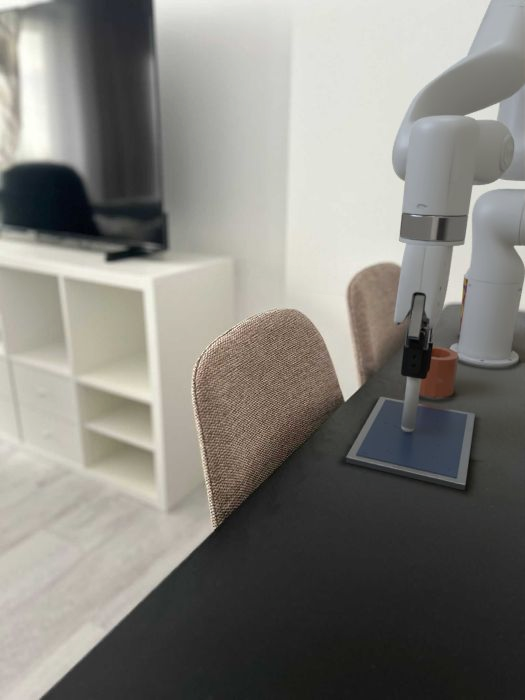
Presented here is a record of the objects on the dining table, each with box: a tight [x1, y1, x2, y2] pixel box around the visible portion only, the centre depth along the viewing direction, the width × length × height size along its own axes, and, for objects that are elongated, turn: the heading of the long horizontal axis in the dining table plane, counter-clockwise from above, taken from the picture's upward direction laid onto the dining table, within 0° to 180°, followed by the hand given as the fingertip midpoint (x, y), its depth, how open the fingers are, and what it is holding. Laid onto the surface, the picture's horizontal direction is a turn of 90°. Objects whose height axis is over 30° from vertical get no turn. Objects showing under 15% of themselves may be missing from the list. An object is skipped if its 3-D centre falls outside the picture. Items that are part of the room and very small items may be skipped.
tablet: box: [345, 396, 476, 491], centre depth 70 cm, size 20×14×1 cm
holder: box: [419, 345, 459, 398], centre depth 83 cm, size 7×7×7 cm
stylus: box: [401, 331, 425, 433], centre depth 67 cm, size 2×2×14 cm
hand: (415, 372), depth 67 cm, fingers closed on stylus, 1 cm apart
